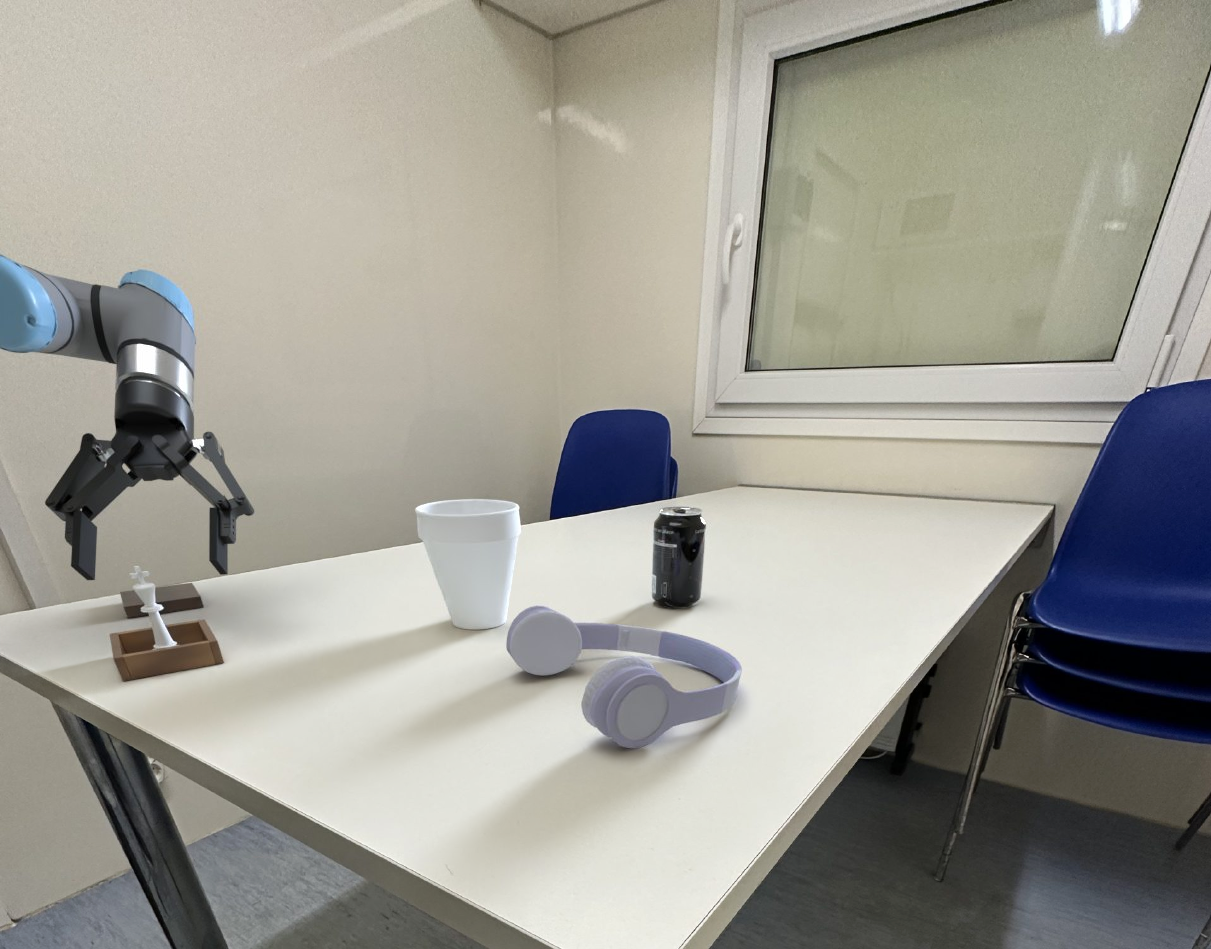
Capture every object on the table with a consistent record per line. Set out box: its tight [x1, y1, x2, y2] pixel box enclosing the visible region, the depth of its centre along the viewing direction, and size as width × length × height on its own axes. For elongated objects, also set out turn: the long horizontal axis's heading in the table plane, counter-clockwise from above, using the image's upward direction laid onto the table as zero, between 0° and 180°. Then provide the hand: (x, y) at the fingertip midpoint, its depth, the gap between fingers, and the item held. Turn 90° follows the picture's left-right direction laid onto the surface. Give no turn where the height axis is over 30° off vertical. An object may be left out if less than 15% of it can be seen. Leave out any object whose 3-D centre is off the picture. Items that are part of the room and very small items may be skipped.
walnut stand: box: [119, 582, 205, 619], centre depth 93 cm, size 9×9×2 cm
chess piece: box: [128, 565, 178, 650], centre depth 72 cm, size 5×5×10 cm
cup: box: [414, 498, 522, 631], centre depth 83 cm, size 12×12×14 cm
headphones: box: [505, 605, 743, 749], centre depth 65 cm, size 22×7×20 cm
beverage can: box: [651, 506, 707, 609], centre depth 90 cm, size 7×7×12 cm
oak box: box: [109, 618, 225, 682], centre depth 74 cm, size 10×10×2 cm
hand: (151, 570), depth 72 cm, fingers open, 13 cm apart
